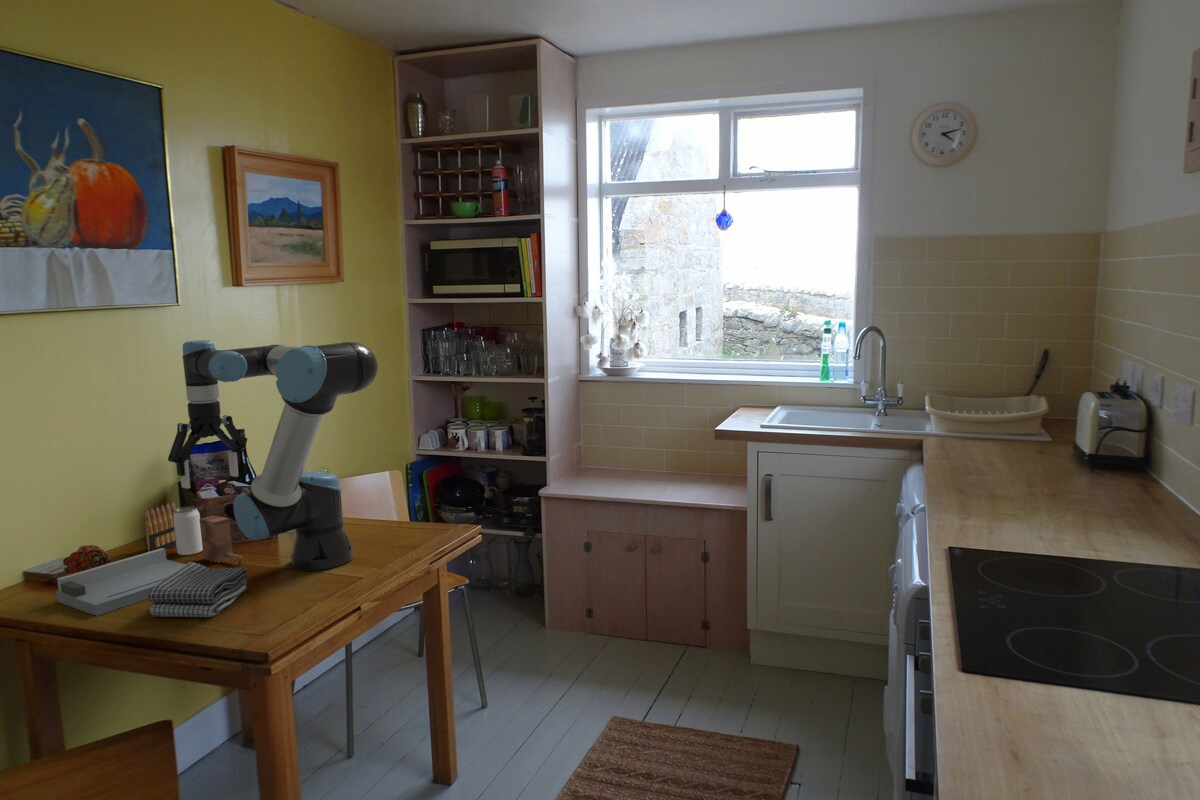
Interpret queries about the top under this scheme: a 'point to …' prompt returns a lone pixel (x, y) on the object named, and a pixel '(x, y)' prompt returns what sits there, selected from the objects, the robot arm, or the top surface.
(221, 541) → the brown blocky piece
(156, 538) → the ammunition clip
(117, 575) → the board
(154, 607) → the towel
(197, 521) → the can
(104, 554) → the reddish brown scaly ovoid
